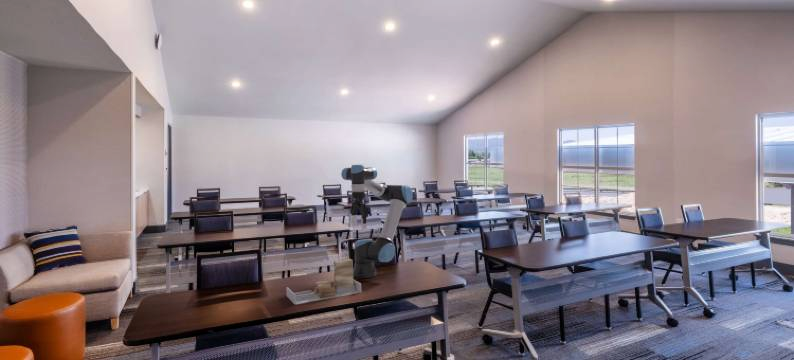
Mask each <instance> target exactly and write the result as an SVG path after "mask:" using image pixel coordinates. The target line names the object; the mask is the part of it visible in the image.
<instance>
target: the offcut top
mask: <svg viewBox="0 0 794 360" xmlns="http://www.w3.org/2000/svg"><path fill="white" fill-rule="evenodd" d="M315 286H317V288H318V289H319V290H322V289H329V288H331V286H332V284H331V283H330V282H329V281H328V280H320V281H315Z"/></svg>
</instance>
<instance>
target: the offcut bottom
mask: <svg viewBox="0 0 794 360" xmlns="http://www.w3.org/2000/svg"><path fill="white" fill-rule="evenodd" d="M313 292H314V293H315V294H316V295H317V296H318V297H320V298H326V297H332V296H335V292H334V293H329V294H324V295H322V294H321V293H319V292H318V291H316V290H315V288H314V289H313Z"/></svg>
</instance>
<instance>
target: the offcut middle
mask: <svg viewBox="0 0 794 360" xmlns="http://www.w3.org/2000/svg"><path fill="white" fill-rule="evenodd" d="M314 289H315V290H316V291H318V292H319V293H321V294H322V295H324V294H329V293H334V292H336V288H334V287H333V285H331V288H329V289H322V290H319V289H318V288H317V286H316V285H315V286H314Z"/></svg>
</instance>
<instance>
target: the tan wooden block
mask: <svg viewBox="0 0 794 360" xmlns="http://www.w3.org/2000/svg"><path fill="white" fill-rule="evenodd" d="M353 269H354V262H353V259H351V258H347V259H341V260H334V261H333V282H334V283H333V286H334V288H336V289H337V288H343V287H349V286H353V279H354V277H353Z"/></svg>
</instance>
